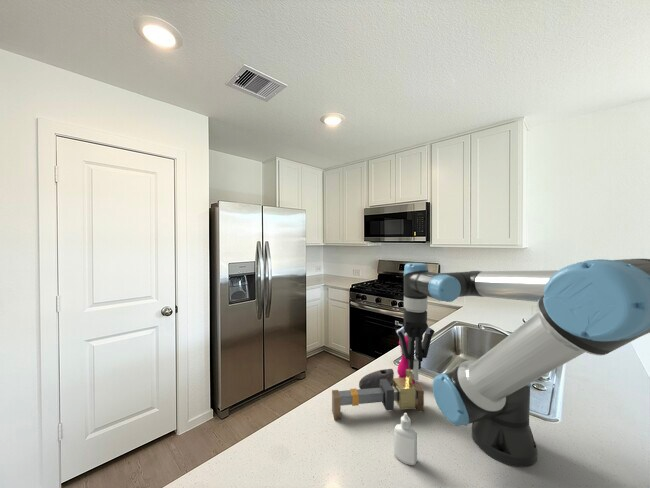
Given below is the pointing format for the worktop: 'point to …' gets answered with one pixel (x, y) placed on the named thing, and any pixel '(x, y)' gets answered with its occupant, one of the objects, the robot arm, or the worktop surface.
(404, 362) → the pepper mill
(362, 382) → the perforated stone tool
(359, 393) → the bar clamp
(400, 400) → the sleeve
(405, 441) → the eye dropper bottle
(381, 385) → the ring
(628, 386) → the worktop surface
